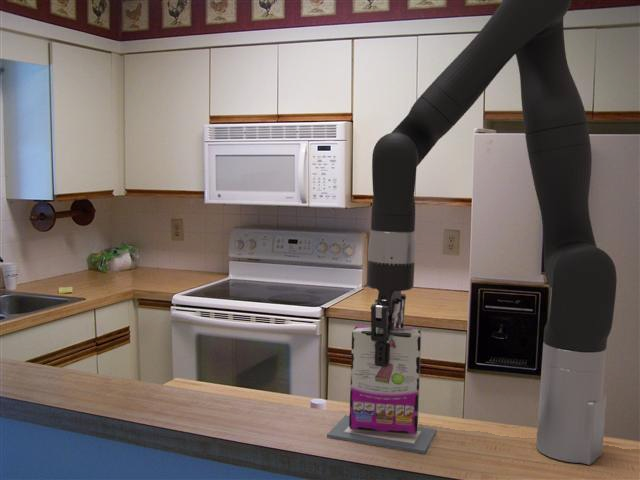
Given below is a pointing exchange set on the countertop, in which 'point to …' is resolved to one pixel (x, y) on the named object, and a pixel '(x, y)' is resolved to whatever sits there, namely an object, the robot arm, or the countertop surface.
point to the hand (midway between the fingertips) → (386, 360)
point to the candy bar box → (385, 383)
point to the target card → (384, 437)
